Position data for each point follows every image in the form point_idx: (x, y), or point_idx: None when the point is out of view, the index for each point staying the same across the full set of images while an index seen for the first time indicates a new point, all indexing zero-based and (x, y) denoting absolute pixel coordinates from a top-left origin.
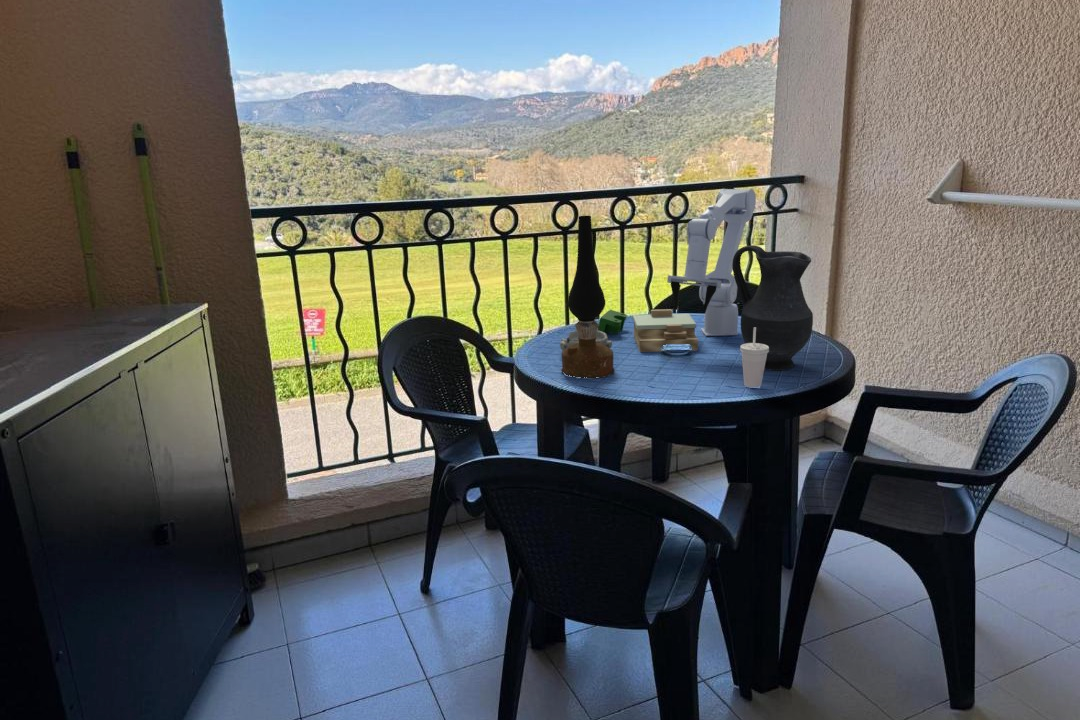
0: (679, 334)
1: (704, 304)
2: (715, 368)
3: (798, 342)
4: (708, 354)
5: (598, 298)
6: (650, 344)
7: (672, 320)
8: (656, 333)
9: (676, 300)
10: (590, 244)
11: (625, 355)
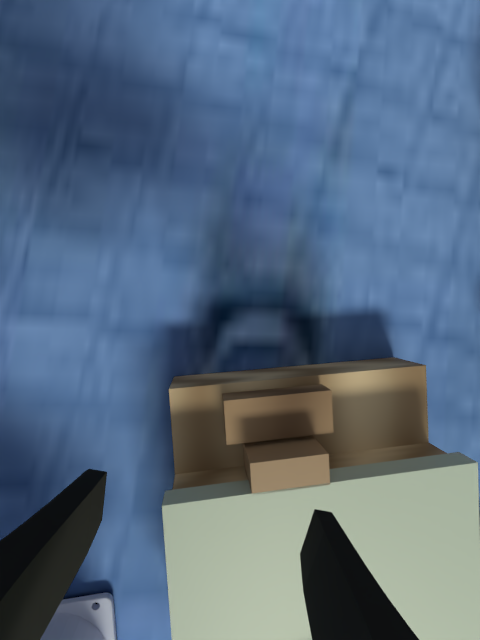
0: (260, 395)
1: (60, 523)
2: (133, 123)
3: None
4: (136, 316)
5: None
6: (372, 365)
7: (289, 581)
8: (356, 457)
9: (359, 583)
10: None
11: (444, 312)
